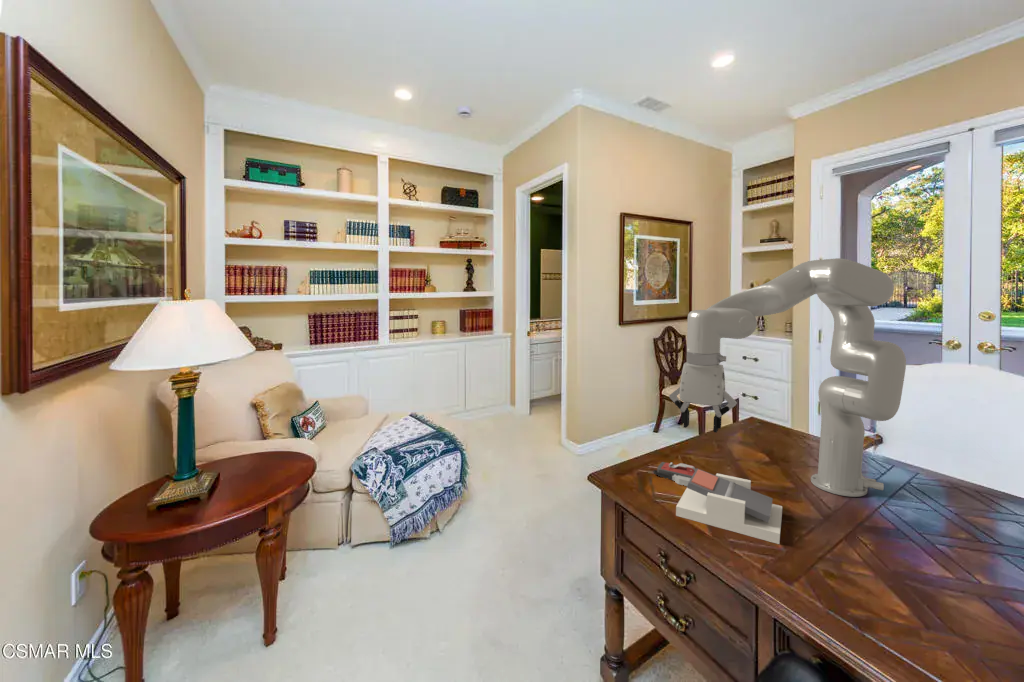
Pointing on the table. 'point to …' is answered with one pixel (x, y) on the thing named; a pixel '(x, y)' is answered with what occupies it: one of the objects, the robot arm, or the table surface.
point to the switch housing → (729, 513)
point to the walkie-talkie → (676, 472)
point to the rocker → (732, 493)
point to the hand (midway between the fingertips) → (700, 427)
